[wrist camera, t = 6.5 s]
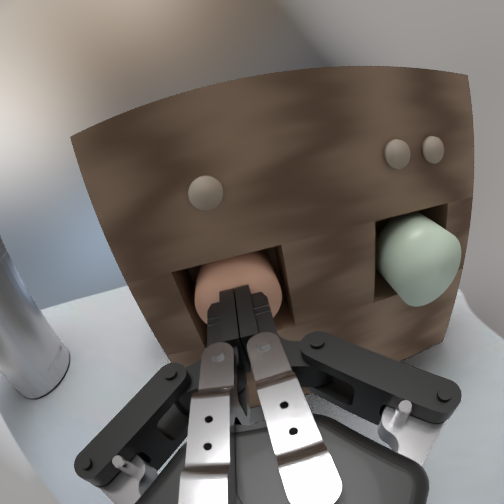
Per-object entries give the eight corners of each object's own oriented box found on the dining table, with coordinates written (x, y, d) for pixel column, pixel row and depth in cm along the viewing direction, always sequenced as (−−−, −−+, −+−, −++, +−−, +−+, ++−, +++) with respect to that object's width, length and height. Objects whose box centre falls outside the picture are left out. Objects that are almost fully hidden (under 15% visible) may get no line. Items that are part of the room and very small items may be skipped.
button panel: (207, 418, 18) (67, 137, 9) (205, 376, 22) (103, 129, 13) (444, 343, 19) (471, 75, 9) (420, 313, 22) (425, 75, 13)
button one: (209, 340, 15) (182, 276, 13) (209, 307, 18) (187, 247, 16) (287, 322, 15) (273, 253, 13) (276, 291, 18) (263, 228, 16)
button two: (395, 316, 13) (403, 244, 11) (372, 286, 16) (372, 219, 14) (453, 292, 13) (466, 224, 11) (427, 267, 16) (432, 204, 14)
